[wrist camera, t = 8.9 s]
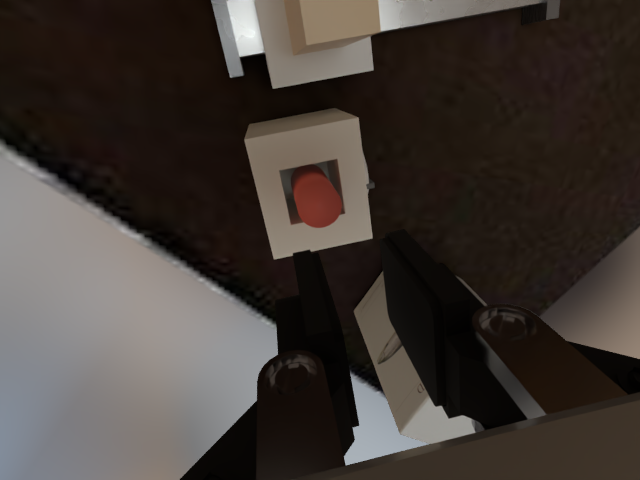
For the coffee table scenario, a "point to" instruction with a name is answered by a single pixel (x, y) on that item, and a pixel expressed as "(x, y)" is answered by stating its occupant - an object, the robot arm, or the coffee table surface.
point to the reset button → (315, 196)
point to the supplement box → (404, 374)
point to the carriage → (317, 38)
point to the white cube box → (303, 149)
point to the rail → (395, 14)
